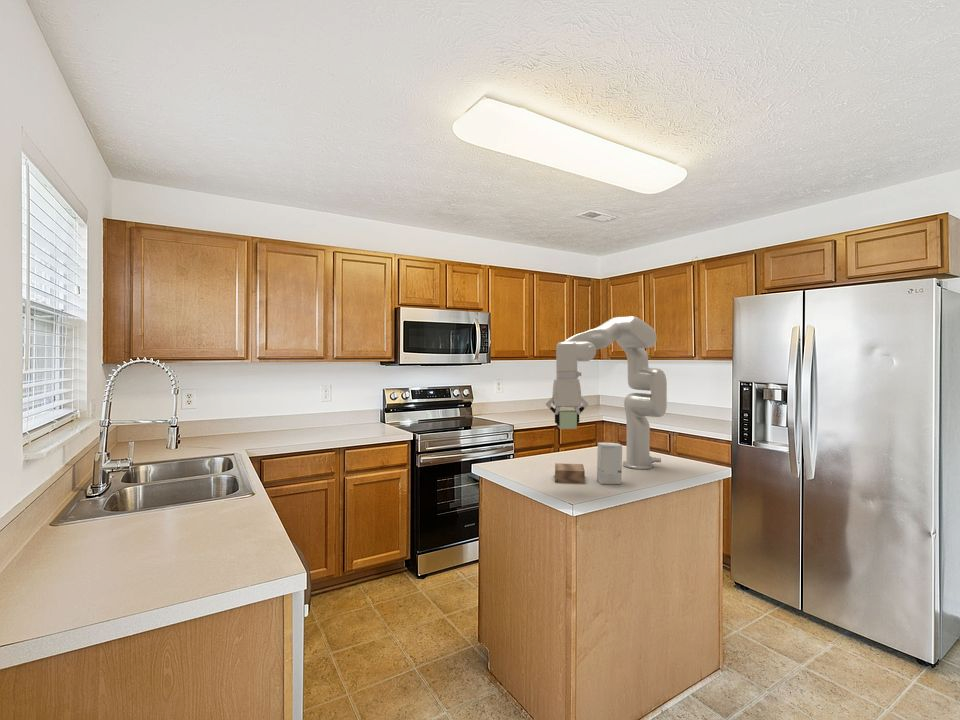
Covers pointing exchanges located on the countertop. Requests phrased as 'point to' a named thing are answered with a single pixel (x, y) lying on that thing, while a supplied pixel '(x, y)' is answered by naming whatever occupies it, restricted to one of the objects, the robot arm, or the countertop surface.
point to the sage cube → (567, 419)
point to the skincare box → (609, 463)
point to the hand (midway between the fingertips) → (567, 424)
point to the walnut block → (569, 473)
